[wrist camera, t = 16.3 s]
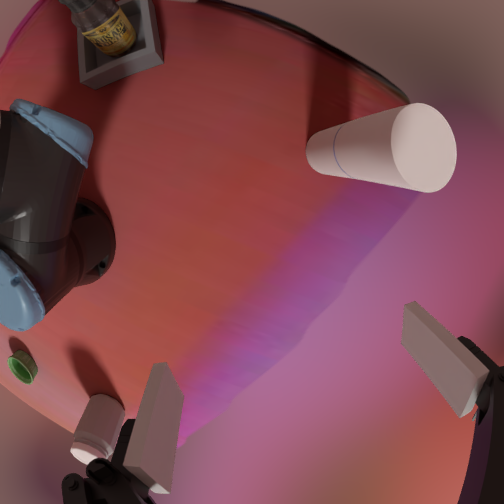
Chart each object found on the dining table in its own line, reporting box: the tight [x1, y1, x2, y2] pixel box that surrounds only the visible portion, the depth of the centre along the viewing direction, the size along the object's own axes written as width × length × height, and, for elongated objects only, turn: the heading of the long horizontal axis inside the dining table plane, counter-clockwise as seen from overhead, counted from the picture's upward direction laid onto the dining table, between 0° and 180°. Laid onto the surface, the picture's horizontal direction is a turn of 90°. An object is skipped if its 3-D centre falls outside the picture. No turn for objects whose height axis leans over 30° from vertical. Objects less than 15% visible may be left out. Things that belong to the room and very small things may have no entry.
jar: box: [70, 394, 125, 465], centre depth 46 cm, size 10×10×18 cm
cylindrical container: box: [306, 103, 457, 193], centre depth 29 cm, size 7×7×25 cm
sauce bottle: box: [59, 0, 137, 57], centre depth 23 cm, size 6×6×20 cm
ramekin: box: [7, 350, 38, 385], centre depth 48 cm, size 9×9×4 cm
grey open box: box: [77, 0, 164, 90], centre depth 30 cm, size 12×13×6 cm
